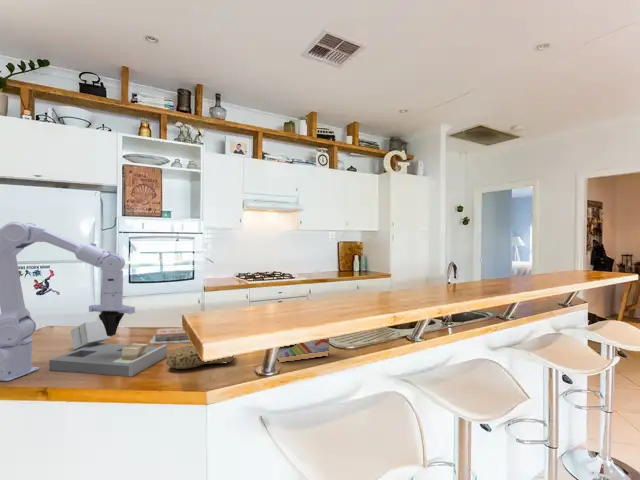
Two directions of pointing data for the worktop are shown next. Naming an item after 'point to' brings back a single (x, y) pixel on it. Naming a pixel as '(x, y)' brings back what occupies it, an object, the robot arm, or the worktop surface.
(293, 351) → the cake pan box
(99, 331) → the supplement box
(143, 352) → the block
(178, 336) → the packaged product
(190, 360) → the sponge
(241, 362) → the worktop surface
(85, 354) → the platform
